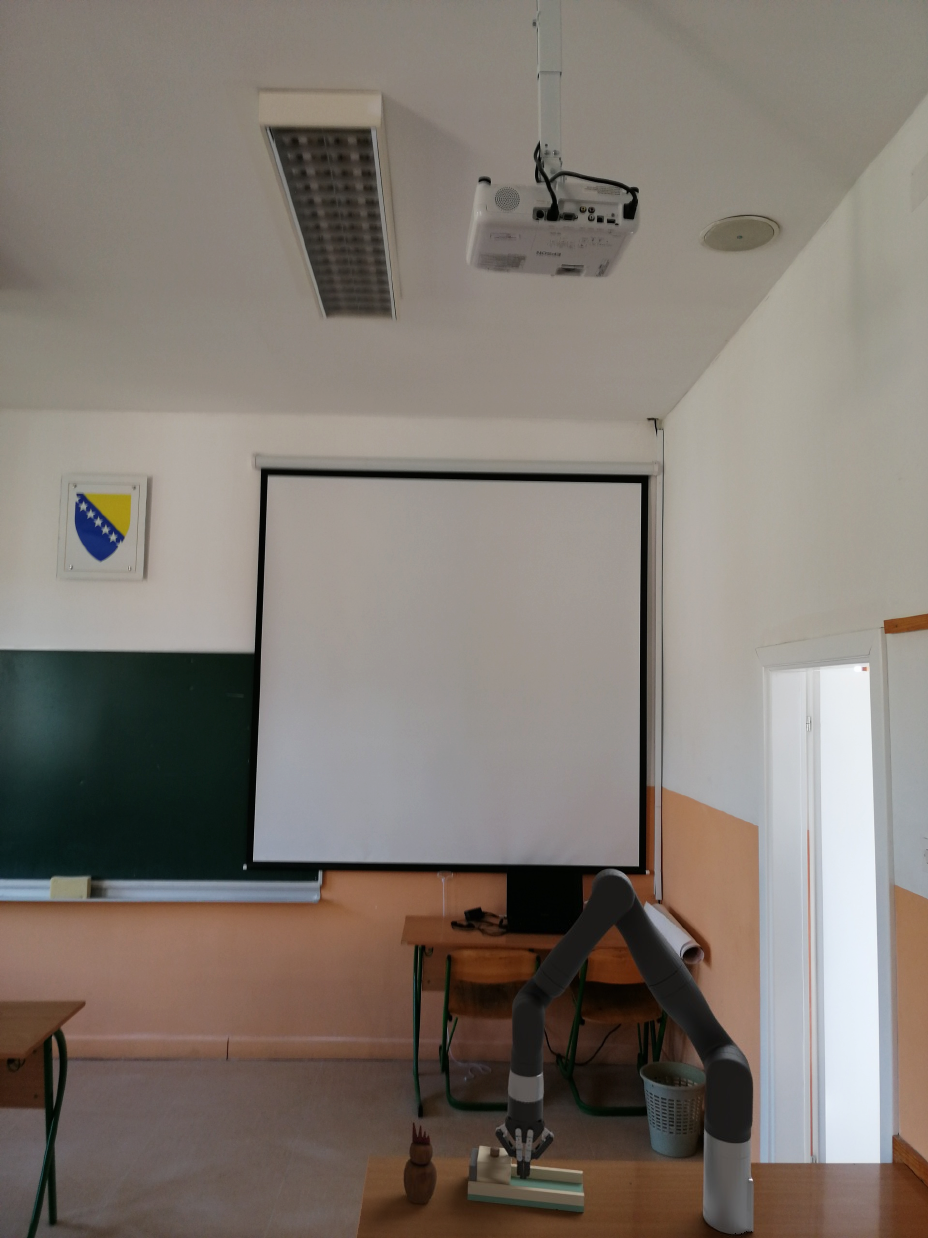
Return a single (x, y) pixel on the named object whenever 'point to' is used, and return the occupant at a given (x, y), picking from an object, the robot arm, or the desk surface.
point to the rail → (531, 1188)
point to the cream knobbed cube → (493, 1165)
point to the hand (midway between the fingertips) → (523, 1177)
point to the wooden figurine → (420, 1169)
